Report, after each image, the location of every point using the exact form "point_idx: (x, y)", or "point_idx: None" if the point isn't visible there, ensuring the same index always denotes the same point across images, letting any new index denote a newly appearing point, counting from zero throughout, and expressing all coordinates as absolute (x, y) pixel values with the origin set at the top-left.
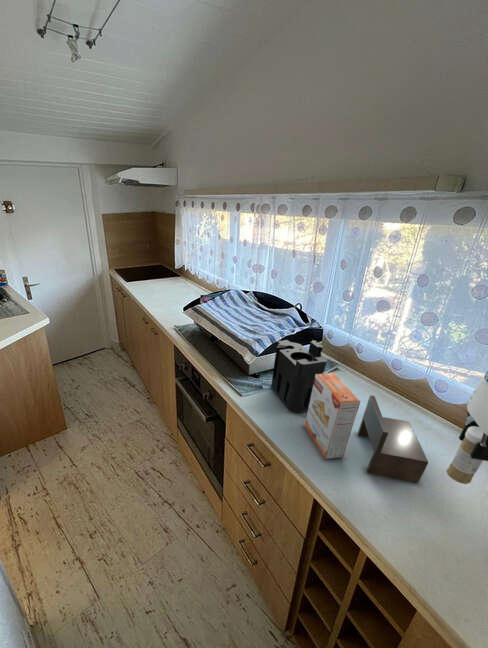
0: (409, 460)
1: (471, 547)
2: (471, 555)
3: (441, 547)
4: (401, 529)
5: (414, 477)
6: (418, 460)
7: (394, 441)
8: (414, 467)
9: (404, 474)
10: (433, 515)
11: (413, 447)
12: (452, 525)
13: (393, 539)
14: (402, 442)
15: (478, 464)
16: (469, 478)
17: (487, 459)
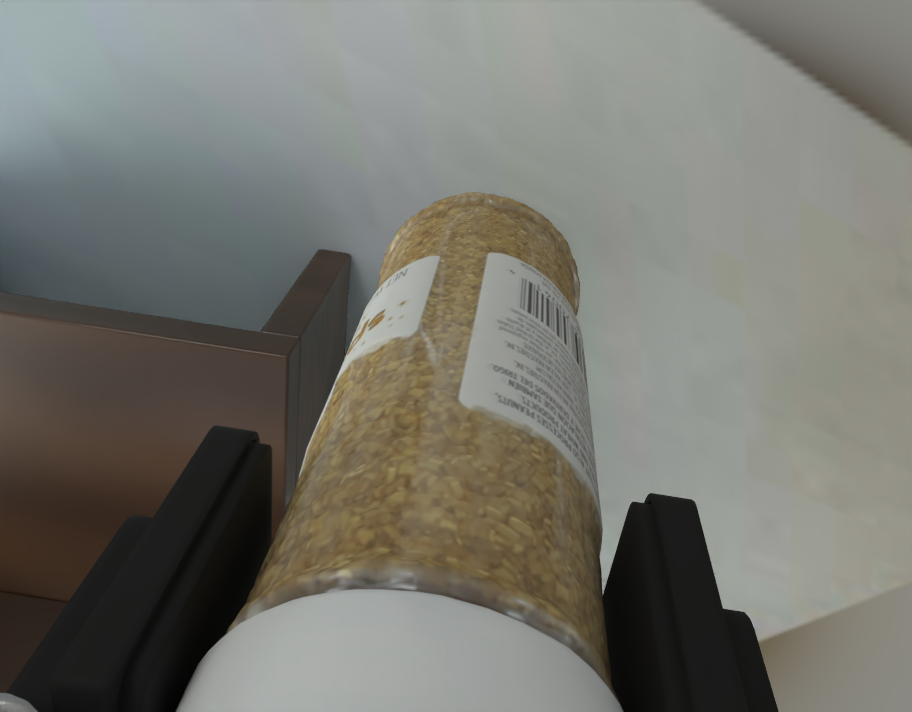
0: (292, 465)
1: (825, 159)
2: (877, 191)
3: (818, 337)
4: (708, 486)
5: (336, 309)
6: (287, 423)
7: (107, 505)
8: (311, 384)
9: (330, 372)
10: (602, 274)
11: (130, 396)
12: (670, 192)
13: (766, 543)
14: (94, 451)
15: (590, 420)
16: (574, 299)
17: (745, 615)
